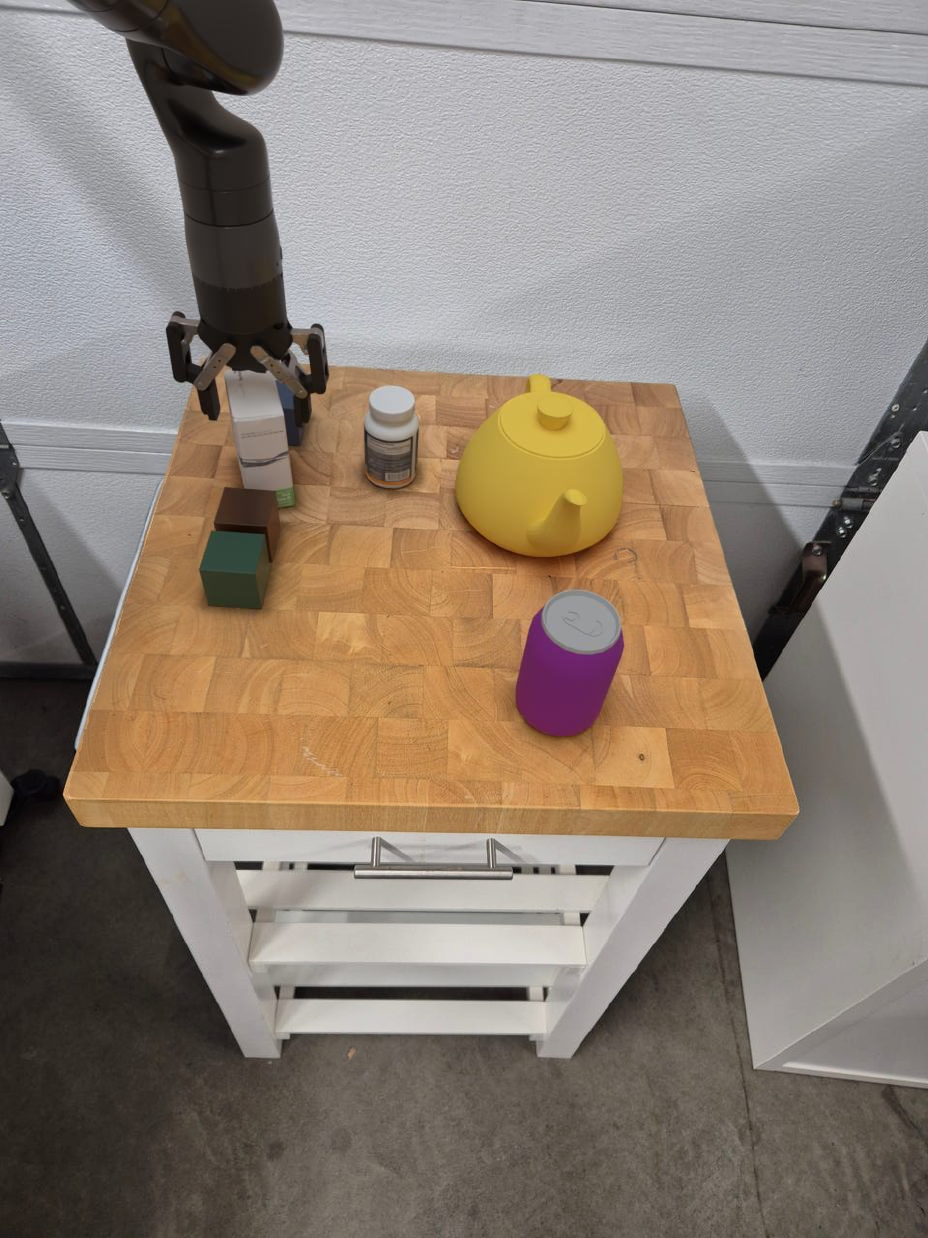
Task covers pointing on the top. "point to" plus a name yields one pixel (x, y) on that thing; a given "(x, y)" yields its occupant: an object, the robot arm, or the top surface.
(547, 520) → the teapot
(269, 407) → the ink box
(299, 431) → the slate block
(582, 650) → the beverage can
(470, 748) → the top surface
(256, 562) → the green block
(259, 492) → the walnut block
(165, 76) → the robot arm
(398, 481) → the pill bottle
